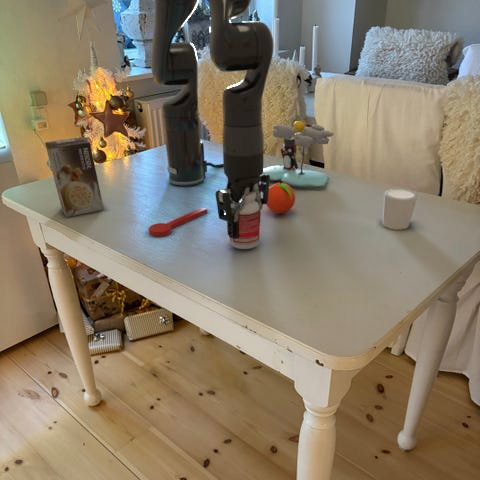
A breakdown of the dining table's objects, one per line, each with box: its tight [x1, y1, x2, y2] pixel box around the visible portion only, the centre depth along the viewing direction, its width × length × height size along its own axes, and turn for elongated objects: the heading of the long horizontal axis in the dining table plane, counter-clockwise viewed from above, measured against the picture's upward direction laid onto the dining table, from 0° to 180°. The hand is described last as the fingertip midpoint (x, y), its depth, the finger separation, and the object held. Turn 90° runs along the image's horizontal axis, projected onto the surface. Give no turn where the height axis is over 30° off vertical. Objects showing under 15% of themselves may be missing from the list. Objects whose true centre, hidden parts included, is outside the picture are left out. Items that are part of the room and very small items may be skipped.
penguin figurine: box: [263, 120, 334, 189], centre depth 129 cm, size 20×11×15 cm, turn 53°
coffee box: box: [44, 136, 105, 218], centre depth 115 cm, size 9×6×16 cm
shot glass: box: [382, 188, 418, 231], centre depth 107 cm, size 7×7×7 cm
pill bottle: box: [229, 192, 260, 250], centre depth 98 cm, size 6×6×11 cm
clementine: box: [266, 182, 296, 214], centre depth 113 cm, size 8×7×7 cm
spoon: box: [148, 206, 209, 238], centre depth 111 cm, size 17×5×1 cm, turn 141°
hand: (244, 231), depth 100 cm, fingers closed on pill bottle, 6 cm apart
